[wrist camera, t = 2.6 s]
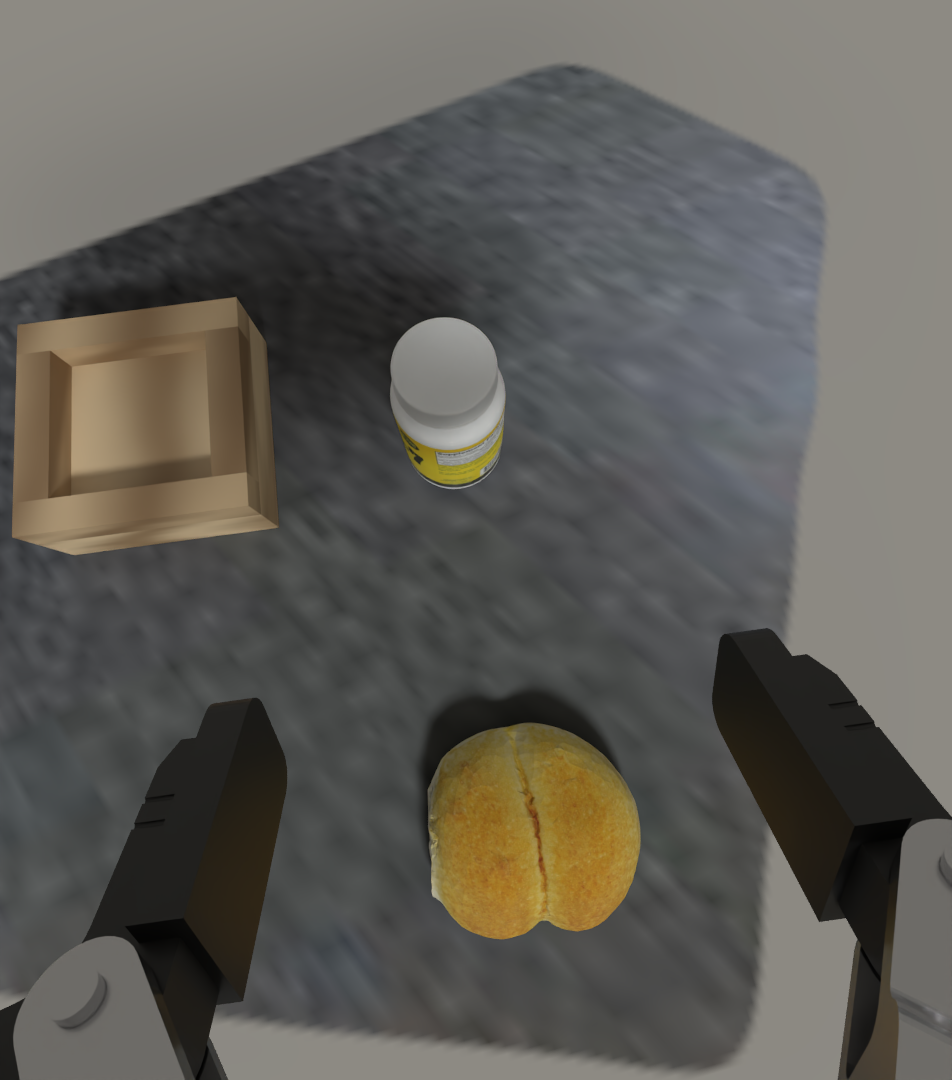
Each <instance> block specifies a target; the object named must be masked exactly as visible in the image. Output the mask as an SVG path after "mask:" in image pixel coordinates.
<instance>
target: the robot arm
mask: <svg viewBox="0 0 952 1080" xmlns="http://www.w3.org/2000/svg"><path fill="white" fill-rule="evenodd" d="M712 704H713V711H714V716H715V719H716V722H717V725H718V728H719V730H720V732H721V734H722V736H723V738H724V740H725V742H726V744H727V746H728V748H729V750H730V752H731V754H732V756H733V757H734V759H735V761H736V763H737V765H738V767H739V769H740V771H741V773H742V775H743V777H744V779H745V781H746V782H747V784H748V786H749V788H750V790H751V792H752V794H753V796H754V798H755V800H756V802H757V804H758V805H759V807H760V809H761V811H762V813H763V815H764V817H765V819H766V821H767V823H768V825H769V827H770V828H771V830H772V832H773V834H774V836H775V838H776V840H777V842H778V844H779V846H780V848H781V849H782V851H783V853H784V855H785V857H786V859H787V861H788V863H789V865H790V867H791V869H792V871H793V873H794V874H795V876H796V878H797V880H798V882H799V884H800V886H801V888H802V890H803V892H804V894H805V896H806V897H807V899H808V901H809V903H810V905H811V907H812V909H813V911H814V913H815V914H816V917H817V919H818V920H819V922H822V921H829V920H836V919H842V918H846V919H847V921H848V923H849V924H850V926H851V928H852V930H853V932H854V933H855V935H856V937H857V939H858V940H857V942H856V946H855V950H854V958H853V966H852V974H851V981H850V989H849V997H848V1006H847V1012H846V1021H845V1028H844V1036H843V1044H842V1052H841V1059H840V1067H839V1076H838V1080H952V817H951V816H950V815H949V813H948V812H947V811H946V810H945V809H944V808H943V807H942V805H941V804H940V803H939V802H938V801H937V799H936V798H935V797H934V795H933V794H932V793H931V792H930V790H929V789H928V788H927V787H926V785H925V784H924V783H923V782H922V780H921V779H920V778H919V777H918V775H917V774H916V773H915V772H914V770H913V769H912V768H911V767H910V765H909V764H908V763H907V762H906V760H905V759H904V758H903V757H902V756H901V754H900V753H899V752H898V750H897V749H896V748H895V747H894V745H893V744H892V743H891V742H890V740H889V739H888V738H887V737H886V736H885V734H884V733H883V732H882V730H881V729H880V728H879V727H876V726H875V724H874V720H873V719H872V718H871V717H870V715H869V714H868V713H867V712H866V710H865V709H864V708H863V707H862V706H861V705H860V706H859V705H858V703H857V699H856V698H855V697H854V696H853V694H852V693H851V692H850V691H849V689H848V688H847V687H846V686H845V684H844V683H843V682H842V681H841V679H840V678H839V677H838V676H837V674H835V673H833V672H832V671H831V670H829V669H828V668H826V667H825V666H823V665H822V664H820V663H819V662H817V661H816V660H814V659H813V658H812V657H810V656H809V655H807V654H805V655H798V656H792V655H791V654H790V652H789V651H788V650H787V648H786V647H785V646H784V644H783V643H782V642H781V640H780V639H779V638H778V636H777V635H776V634H775V633H774V632H773V631H772V630H770V629H768V628H765V629H758V630H751V631H743V632H736V633H729V634H724V635H722V637H721V639H720V642H719V649H718V656H717V663H716V671H715V678H714V686H713V693H712ZM286 789H287V766H286V760H285V756H284V753H283V750H282V748H281V746H280V743H279V741H278V739H277V736H276V734H275V732H274V729H273V727H272V725H271V722H270V720H269V718H268V715H267V713H266V710H265V708H264V706H263V704H262V702H261V701H260V700H259V699H258V698H250V699H243V700H236V701H229V702H222V703H214V704H212V705H210V706H209V708H208V709H207V711H206V713H205V716H204V718H203V721H202V724H201V726H200V729H199V732H198V734H197V737H196V738H191V739H183V740H181V741H180V742H179V743H178V744H177V745H176V747H175V748H174V749H173V750H172V751H171V753H170V754H169V755H168V756H167V757H166V758H165V760H164V761H163V762H162V763H161V764H160V766H159V767H158V768H157V771H156V773H155V775H154V778H153V780H152V783H151V785H150V787H149V790H148V792H147V794H146V797H145V800H146V801H145V804H142V806H141V809H140V811H139V813H138V816H137V818H136V820H135V823H134V824H135V828H134V830H131V832H130V835H129V837H128V839H127V842H126V844H125V846H124V849H123V851H122V854H121V856H120V858H119V861H118V863H117V865H116V868H115V870H114V873H113V875H112V877H111V880H110V882H109V884H108V887H107V889H106V891H105V894H104V896H103V899H102V901H101V903H100V906H99V908H98V910H97V913H96V915H95V917H94V920H93V922H92V925H91V927H90V929H89V931H88V933H87V935H86V937H85V939H84V940H83V942H82V944H80V945H78V946H76V947H74V948H73V949H71V950H70V951H68V952H66V953H65V954H64V955H63V956H61V957H60V958H59V959H58V960H56V961H55V962H54V963H53V964H52V965H51V966H50V967H49V968H48V969H47V970H46V971H45V972H44V973H43V974H42V976H41V977H40V978H39V979H38V980H37V982H36V983H35V984H34V986H33V987H32V989H31V990H30V991H29V993H28V995H27V997H26V998H24V999H22V1000H21V1001H19V1002H17V1003H15V1004H13V1005H11V1006H9V1007H7V1008H4V1009H2V1010H0V1080H228V1078H227V1076H226V1074H225V1072H224V1069H223V1067H222V1064H221V1062H220V1060H219V1057H218V1055H217V1053H216V1050H215V1049H214V1046H213V1043H212V1041H211V1039H210V1038H209V1033H210V1028H211V1024H212V1020H213V1016H214V1012H215V1007H216V1005H220V1004H227V1003H234V1002H241V1001H243V998H244V993H245V988H246V984H247V979H248V974H249V969H250V964H251V959H252V954H253V950H254V945H255V940H256V935H257V930H258V925H259V920H260V916H261V911H262V906H263V901H264V896H265V891H266V886H267V882H268V877H269V872H270V867H271V862H272V857H273V853H274V848H275V843H276V838H277V833H278V828H279V823H280V819H281V814H282V809H283V804H284V799H285V794H286Z"/></svg>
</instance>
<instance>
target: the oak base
mask: <svg viewBox="0 0 952 1080" xmlns="http://www.w3.org/2000/svg"><path fill="white" fill-rule="evenodd" d="M272 528H279V519H278V505H277V490H276V475H275V461H274V446H273V432H272V417H271V403H270V388H269V373H268V359H267V344H266V341H265V340H264V338H263V337H262V335H261V334H260V332H259V331H258V329H257V328H256V326H255V325H254V323H253V322H252V320H251V319H250V317H249V316H248V314H247V313H246V311H245V310H244V308H243V306H242V305H241V303H240V302H239V300H238V299H237V297H233V298H225V299H217V300H210V301H202V302H194V303H186V304H178V305H170V306H163V307H155V308H147V309H139V310H131V311H124V312H116V313H108V314H100V315H92V316H85V317H77V318H69V319H61V320H53V321H46V322H38V323H30V324H22V325H18V330H17V368H16V405H15V443H14V481H13V518H12V537H13V538H17V539H20V540H23V541H27V542H30V543H34V544H37V545H41V546H44V547H47V548H51V549H54V550H58V551H61V552H65V553H68V554H72V555H78V554H86V553H93V552H101V551H108V550H115V549H123V548H130V547H138V546H145V545H153V544H160V543H168V542H175V541H183V540H190V539H198V538H205V537H212V536H220V535H227V534H235V533H242V532H250V531H257V530H265V529H272Z"/></svg>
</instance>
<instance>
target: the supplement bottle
mask: <svg viewBox="0 0 952 1080" xmlns="http://www.w3.org/2000/svg"><path fill="white" fill-rule="evenodd" d="M390 369H391V378H392V382H391V387H390V401H391V407H392V411H393V415H394V417H395V420H396V423H397V425H398V428H399V431H400V433H401V437H402V440H403V442H404V445H405V448H406V451H407V454H408V456H409V459H410V461H411V463H412V465H413V466H414V468H415V470H416V471H417V472H418V473H419V474H420V475H421V476H422V477H423V478H424V479H425V480H427V481H428V482H430V483H432V484H434V485H436V486H439V487H443V488H448V489H460V488H465V487H469V486H472V485H474V484H476V483H478V482H480V481H481V480H483V479H484V478H485V477H486V476H488V475H489V474H490V472H491V471H492V470H493V469H494V467H495V466H496V464H497V462H498V460H499V457H500V453H501V448H502V437H503V424H504V410H505V396H506V394H505V386H504V381H503V378H502V375H501V373H500V371H499V369H498V367H497V357H496V354H495V351H494V348H493V346H492V344H491V342H490V341H489V339H488V338H487V337H486V335H485V334H484V333H483V332H482V331H481V330H479V329H478V328H477V327H475V326H473V325H472V324H470V323H468V322H466V321H463V320H460V319H456V318H448V317H442V318H433V319H429V320H426V321H423V322H421V323H419V324H417V325H415V326H413V327H412V328H411V329H409V330H408V331H407V332H406V333H405V334H404V335H403V336H402V337H401V339H400V340H399V341H398V343H397V345H396V347H395V349H394V351H393V354H392V358H391V365H390Z"/></svg>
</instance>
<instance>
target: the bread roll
mask: <svg viewBox="0 0 952 1080" xmlns="http://www.w3.org/2000/svg"><path fill="white" fill-rule="evenodd" d="M428 829H429V835H430V837H429V838H430V842H429V850H430V857H431V861H432V867H431V873H432V876H431V882H432V895H433V897H435V898H437V899H438V900H439V901H440V902H442V903H443V905H444V906H445V908H446V909H447V910H448V912H449V913H450V915H451V916H452V917H453V918H454V919H455V920H456V921H457V922H458V923H459V924H460V925H461V926H462V927H464V928H465V929H467V930H469V931H471V932H473V933H476V934H479V935H481V936H485V937H489V938H495V939H507V938H511V937H515V936H518V935H521V934H525V933H526V932H528V931H529V930H531V929H532V928H533V927H534V926H535V925H536V924H537V923H538V922H539V921H541V920H546V921H549V922H551V923H552V924H553V925H555V926H557V927H560V928H562V929H567V930H573V931H581V930H586V929H590V928H593V927H595V926H597V925H599V924H600V923H601V922H603V921H604V920H606V919H607V917H608V916H609V915H610V914H611V913H612V912H613V911H614V910H615V909H616V908H617V907H618V905H619V904H620V903H621V902H622V900H623V899H624V898H625V896H626V894H627V892H628V889H629V887H630V885H631V883H632V881H633V877H634V873H635V870H636V865H637V860H638V856H639V851H640V840H641V839H640V823H639V817H638V811H637V807H636V803H635V800H634V798H633V796H632V794H631V792H630V790H629V788H628V786H627V784H626V782H625V781H624V779H623V778H622V776H621V775H620V774H619V772H618V771H617V770H616V769H615V767H614V766H613V765H612V764H611V762H610V761H609V760H608V759H607V758H606V757H605V756H604V755H603V754H602V753H601V752H600V751H598V750H597V749H596V748H595V747H593V746H592V745H591V744H589V743H588V742H586V741H584V740H583V739H581V738H580V737H578V736H576V735H575V734H573V733H570V732H568V731H565V730H562V729H560V728H557V727H553V726H550V725H545V724H539V723H521V724H516V725H512V726H509V727H501V728H496V729H489V730H486V731H483V732H480V733H477V734H475V735H473V736H471V737H469V738H468V739H466V740H464V741H462V742H461V743H459V744H458V745H457V746H455V747H454V748H453V749H451V750H450V751H449V752H448V753H447V754H446V755H445V756H444V757H443V758H442V759H441V761H440V763H439V765H438V767H437V770H436V772H435V775H434V777H433V779H432V781H431V784H430V786H429V788H428Z"/></svg>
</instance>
